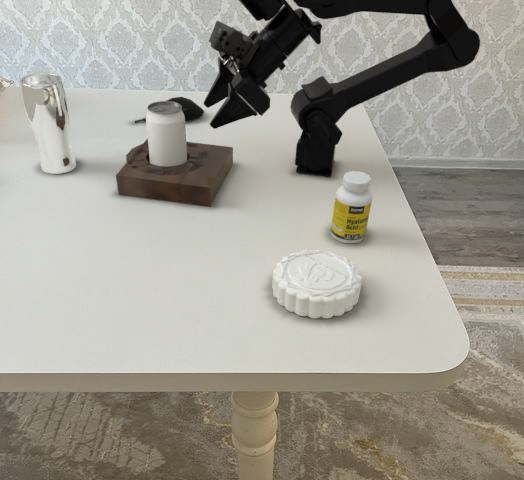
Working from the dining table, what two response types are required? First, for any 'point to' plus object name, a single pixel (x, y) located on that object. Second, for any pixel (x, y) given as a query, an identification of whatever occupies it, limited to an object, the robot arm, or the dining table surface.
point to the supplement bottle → (352, 208)
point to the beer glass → (49, 120)
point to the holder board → (177, 175)
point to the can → (166, 134)
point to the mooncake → (316, 283)
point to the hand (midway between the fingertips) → (208, 115)
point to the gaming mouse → (186, 109)
